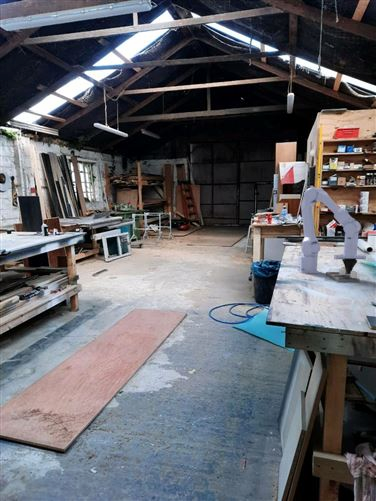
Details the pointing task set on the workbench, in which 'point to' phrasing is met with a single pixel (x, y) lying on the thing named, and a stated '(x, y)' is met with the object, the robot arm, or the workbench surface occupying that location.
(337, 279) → the panel
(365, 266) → the workbench surface
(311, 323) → the workbench surface
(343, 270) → the breaker mid
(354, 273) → the breaker near
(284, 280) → the workbench surface
